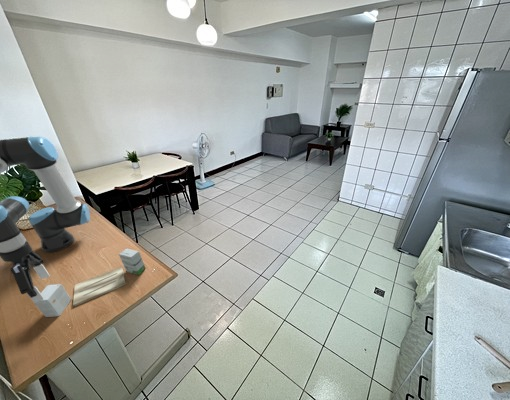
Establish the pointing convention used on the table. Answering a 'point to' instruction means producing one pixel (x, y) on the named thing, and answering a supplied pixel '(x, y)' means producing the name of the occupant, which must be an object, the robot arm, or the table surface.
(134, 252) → the ink box
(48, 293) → the small box
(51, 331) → the table surface
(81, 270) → the table surface
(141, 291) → the table surface
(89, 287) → the board
